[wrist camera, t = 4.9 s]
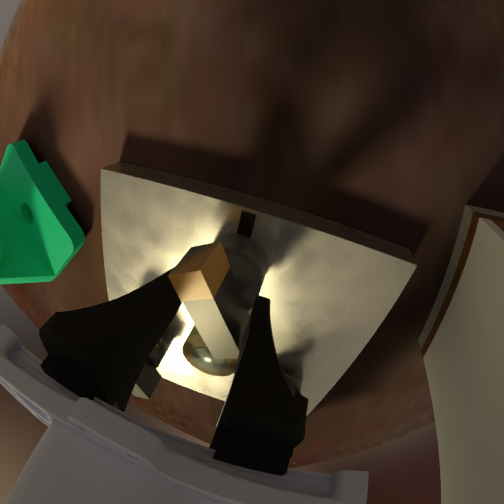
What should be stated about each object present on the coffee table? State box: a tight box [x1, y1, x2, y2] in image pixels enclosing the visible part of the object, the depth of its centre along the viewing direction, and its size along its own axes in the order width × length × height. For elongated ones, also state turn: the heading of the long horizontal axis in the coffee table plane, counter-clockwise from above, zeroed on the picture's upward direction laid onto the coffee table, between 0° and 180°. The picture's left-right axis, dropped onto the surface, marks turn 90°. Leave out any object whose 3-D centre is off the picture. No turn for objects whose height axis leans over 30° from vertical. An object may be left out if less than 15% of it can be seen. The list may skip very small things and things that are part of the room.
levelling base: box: [101, 161, 417, 422], centre depth 19 cm, size 20×20×7 cm
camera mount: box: [0, 140, 85, 284], centre depth 17 cm, size 12×8×10 cm, turn 36°
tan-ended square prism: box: [168, 236, 267, 359], centre depth 15 cm, size 5×4×5 cm
